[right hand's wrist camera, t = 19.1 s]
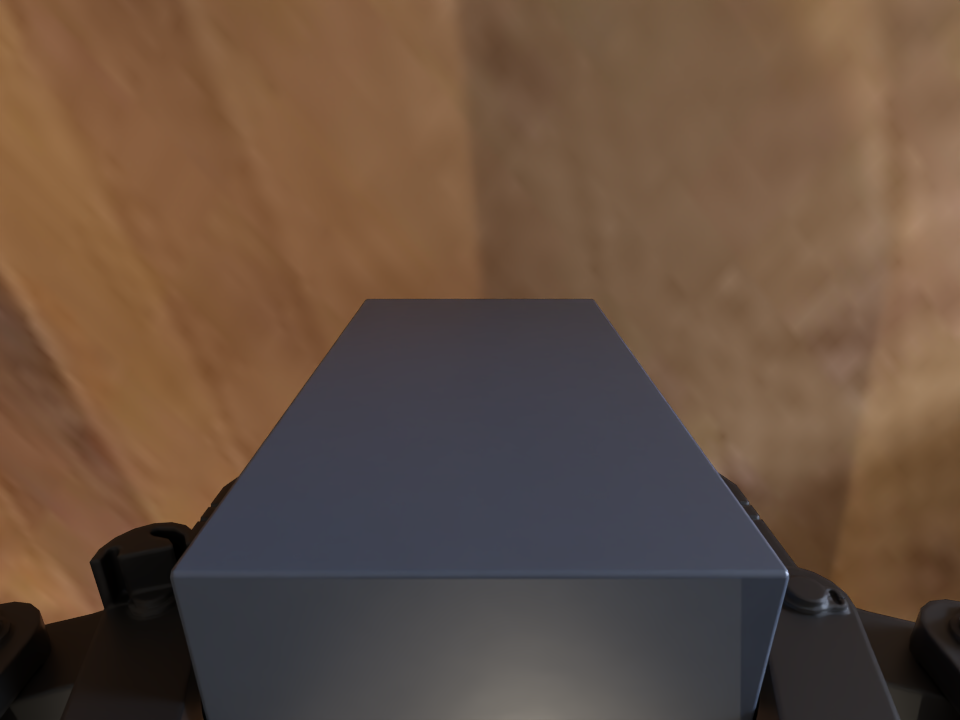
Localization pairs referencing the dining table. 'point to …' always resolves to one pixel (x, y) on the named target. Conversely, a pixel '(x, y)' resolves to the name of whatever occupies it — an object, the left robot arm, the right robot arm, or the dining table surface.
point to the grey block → (479, 537)
